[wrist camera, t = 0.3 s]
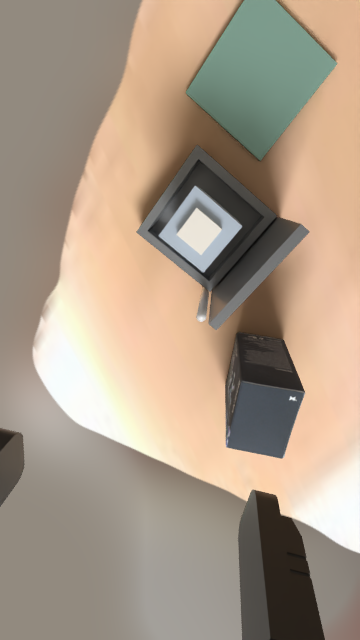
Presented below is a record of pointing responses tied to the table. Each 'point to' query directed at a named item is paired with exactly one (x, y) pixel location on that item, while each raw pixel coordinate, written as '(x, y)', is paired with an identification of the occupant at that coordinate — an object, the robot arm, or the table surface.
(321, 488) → the table surface
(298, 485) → the table surface
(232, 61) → the pad
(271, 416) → the box
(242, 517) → the robot arm
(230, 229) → the module
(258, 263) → the case
